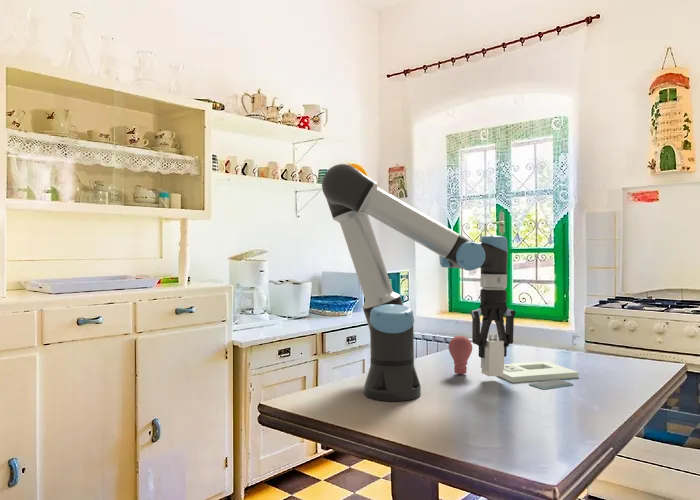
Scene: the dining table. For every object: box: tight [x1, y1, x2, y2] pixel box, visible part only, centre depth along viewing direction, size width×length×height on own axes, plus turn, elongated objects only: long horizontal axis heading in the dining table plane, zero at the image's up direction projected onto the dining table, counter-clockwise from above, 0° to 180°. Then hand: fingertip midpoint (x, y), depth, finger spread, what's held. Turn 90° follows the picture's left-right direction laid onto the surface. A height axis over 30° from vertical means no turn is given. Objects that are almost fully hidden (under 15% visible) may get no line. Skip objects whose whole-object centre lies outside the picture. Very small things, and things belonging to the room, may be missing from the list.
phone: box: [528, 379, 574, 391], centre depth 156 cm, size 11×6×1 cm, turn 115°
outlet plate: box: [498, 360, 580, 384], centre depth 169 cm, size 22×16×2 cm
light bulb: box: [448, 335, 473, 376], centre depth 169 cm, size 7×7×12 cm
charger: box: [481, 334, 504, 377], centre depth 161 cm, size 4×4×12 cm
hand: (492, 368), depth 161 cm, fingers closed on charger, 4 cm apart
